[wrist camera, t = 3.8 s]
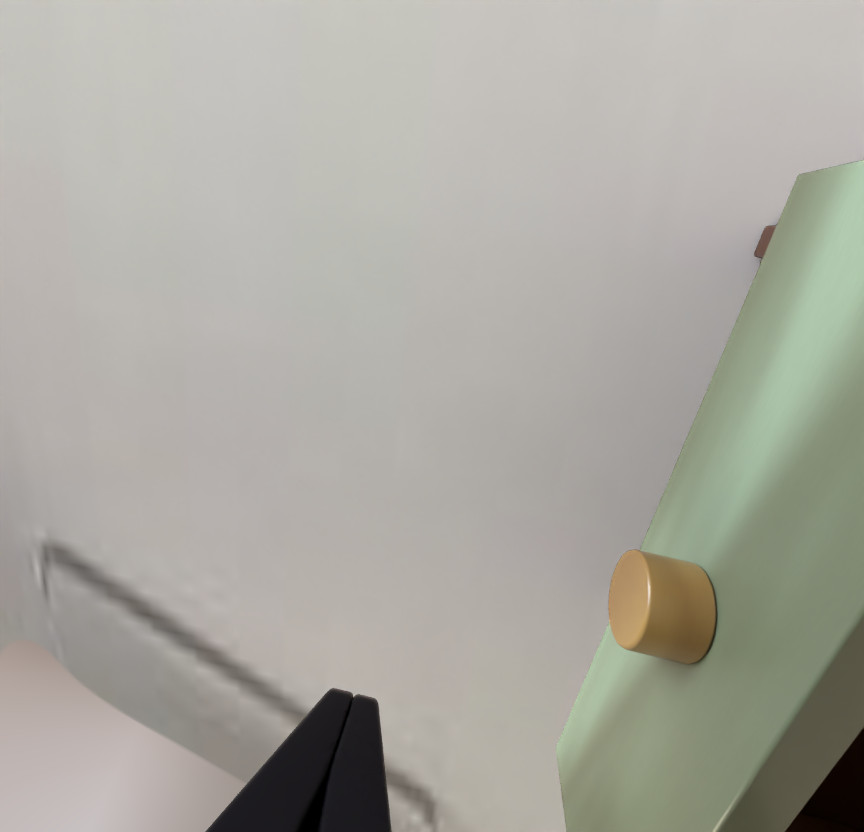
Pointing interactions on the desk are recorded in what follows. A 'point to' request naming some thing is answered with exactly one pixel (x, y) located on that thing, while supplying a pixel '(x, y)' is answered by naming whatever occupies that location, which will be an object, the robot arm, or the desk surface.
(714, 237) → the desk surface
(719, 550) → the drawer
